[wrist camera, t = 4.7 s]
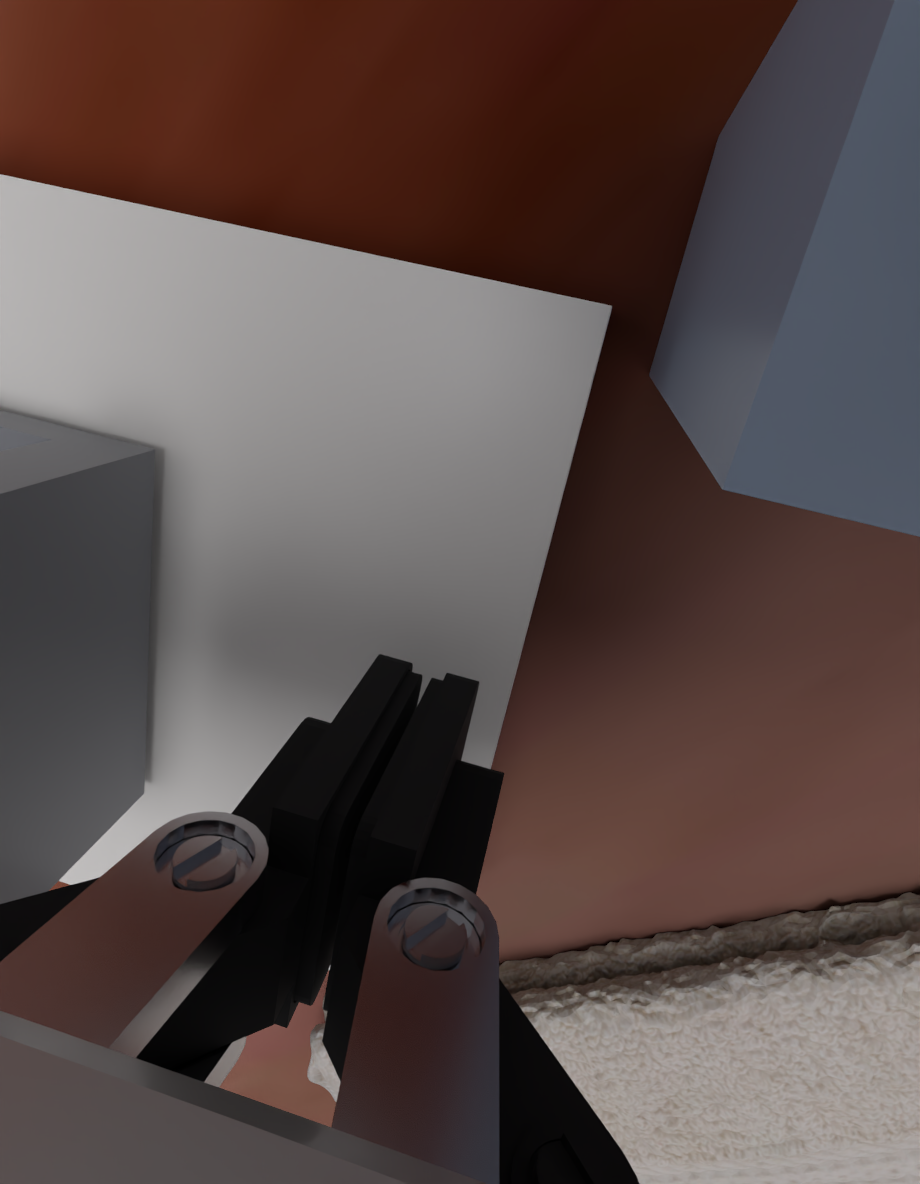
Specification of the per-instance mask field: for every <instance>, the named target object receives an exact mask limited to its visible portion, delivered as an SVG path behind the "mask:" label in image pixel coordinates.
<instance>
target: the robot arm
mask: <svg viewBox="0 0 920 1184" xmlns="http://www.w3.org/2000/svg"><path fill="white" fill-rule="evenodd" d="M412 669H413V664H412V663H411V662H407V661H404V660H400V659H396V658H393V657H389V656H386V655H382V654H379V655H378V656H377V658H376V659H375V660H374V662H373V663H372V665H371V666H370V668H369V669H368V671H367V672H366V673H365V675H364V676H363V678H362V679H361V681H360V682H359V683H358V685H357V686H356V688H355V689H354V691H353V692H352V694H351V695H350V696H349V698H348V699H347V701H346V702H345V704H344V705H343V707H342V708H341V709H340V711H339V712H338V714H337V715H336V717H335V718H334V719H333V721H332V722H331V723H329V722H326V721H322V720H319V719H315V718H312V717H307V718H305V719H304V720H303V721H302V722H301V723H300V725H299V726H298V727H297V729H296V730H295V731H294V733H293V734H292V735H291V737H290V738H289V739H288V740H287V742H286V743H285V744H284V746H283V747H282V748H281V750H280V751H279V752H278V753H277V755H276V756H275V757H274V759H273V760H272V761H271V763H270V764H269V765H268V766H267V768H266V769H265V770H264V772H263V773H262V774H261V776H260V777H259V778H258V779H257V781H256V782H255V783H254V785H253V786H252V787H251V789H250V790H249V791H248V792H247V794H246V795H245V796H244V798H243V799H242V800H241V802H240V803H239V804H238V805H237V807H236V808H235V809H234V811H233V812H232V813H231V814H230V813H226V812H212V811H206V812H199V813H191V814H187V815H184V816H181V817H179V818H176V819H173V820H171V821H169V822H167V823H166V824H164V825H163V826H161V827H160V828H158V829H157V830H155V831H154V832H153V833H152V834H150V835H149V836H148V837H147V838H146V839H145V840H143V841H142V842H141V843H140V844H139V845H137V846H136V847H135V848H134V849H133V850H132V851H130V852H129V853H128V854H127V855H126V856H124V857H123V858H122V859H121V860H120V861H119V862H117V863H116V864H115V865H114V866H113V867H112V868H110V869H109V870H108V871H107V872H106V873H104V874H103V875H102V876H101V877H99V878H95V879H92V880H88V881H84V882H81V883H77V884H73V885H69V886H66V887H62V888H58V889H55V890H51V891H47V892H43V893H40V894H36V895H32V896H28V897H25V898H21V899H17V900H14V901H10V902H6V903H2V904H0V1184H640V1183H639V1182H638V1178H637V1176H636V1174H635V1172H634V1171H633V1169H632V1167H631V1165H630V1163H629V1162H628V1160H627V1158H626V1156H625V1155H624V1153H623V1151H622V1150H621V1148H620V1147H619V1146H618V1144H617V1143H616V1141H615V1140H614V1139H613V1137H612V1136H611V1134H610V1133H609V1131H608V1130H607V1129H606V1127H605V1126H604V1124H603V1123H602V1122H601V1120H600V1119H599V1117H598V1116H597V1115H596V1113H595V1112H594V1110H593V1109H592V1108H591V1106H590V1105H589V1103H588V1102H587V1101H586V1099H585V1098H584V1096H583V1095H582V1094H581V1092H580V1091H579V1089H578V1088H577V1087H576V1085H575V1084H574V1082H573V1081H572V1080H571V1078H570V1077H569V1075H568V1074H567V1073H566V1071H565V1070H564V1068H563V1067H562V1066H561V1064H560V1063H559V1061H558V1060H557V1058H556V1057H555V1056H554V1054H553V1053H552V1051H551V1050H550V1049H549V1047H548V1046H547V1044H546V1043H545V1042H544V1040H543V1039H542V1037H541V1036H540V1035H539V1033H538V1032H537V1030H536V1029H535V1028H534V1026H533V1025H532V1023H531V1022H530V1021H529V1019H528V1018H527V1016H526V1015H525V1014H524V1012H523V1011H522V1009H521V1008H520V1007H519V1005H518V1004H517V1002H516V1001H515V1000H514V998H513V997H512V995H511V994H510V992H509V991H508V990H507V988H506V987H505V985H504V984H503V983H502V981H501V980H500V978H499V935H498V930H497V924H496V921H495V919H494V917H493V915H492V914H491V912H490V910H489V908H488V907H487V905H486V904H485V903H484V902H483V901H482V900H481V899H480V898H479V897H478V896H477V895H476V891H477V887H478V883H479V879H480V874H481V870H482V866H483V862H484V858H485V853H486V849H487V845H488V841H489V836H490V832H491V828H492V824H493V819H494V815H495V811H496V807H497V803H498V798H499V794H500V790H501V786H502V781H503V777H504V773H502V772H499V771H495V770H492V769H488V768H485V767H481V766H478V765H474V764H471V763H467V762H464V761H461V759H462V755H463V751H464V747H465V742H466V738H467V734H468V730H469V726H470V721H471V717H472V713H473V709H474V705H475V701H476V696H477V692H478V688H479V681H476V680H473V679H469V678H465V677H462V676H458V675H454V674H451V673H446V675H445V677H444V679H443V680H439V679H436V678H431V680H430V682H429V684H428V686H427V688H426V690H425V692H424V694H423V696H422V698H421V700H420V702H419V704H418V699H419V694H420V689H421V684H422V675H421V674H418V673H414V672H412ZM417 704H418V706H417ZM329 967H330V970H329V976H328V982H327V987H326V993H325V999H324V1004H323V1010H325V1011H327V1017H326V1022H325V1028H324V1033H323V1039H322V1042H323V1044H324V1047H325V1049H326V1051H327V1053H328V1055H329V1058H330V1060H331V1062H332V1064H333V1066H334V1068H335V1071H336V1073H337V1075H338V1077H339V1079H340V1087H339V1092H338V1097H337V1102H336V1107H335V1112H334V1117H333V1122H332V1127H328V1126H325V1125H323V1124H320V1123H317V1122H314V1121H311V1120H309V1119H306V1118H303V1117H300V1116H297V1115H295V1114H292V1113H289V1112H286V1111H283V1110H281V1109H278V1108H275V1107H272V1106H269V1105H266V1104H264V1103H261V1102H258V1101H255V1100H252V1099H250V1098H247V1097H244V1096H241V1095H238V1094H235V1093H233V1092H230V1091H227V1090H224V1089H221V1088H219V1086H220V1085H221V1084H222V1082H223V1081H224V1079H225V1078H226V1076H227V1075H228V1073H229V1072H230V1070H231V1069H232V1068H233V1066H234V1065H235V1063H236V1062H237V1060H238V1058H239V1056H240V1054H241V1052H242V1050H243V1048H244V1046H245V1042H246V1036H248V1035H250V1034H253V1033H255V1032H257V1031H260V1030H262V1029H264V1028H267V1027H269V1026H271V1025H273V1024H277V1025H280V1026H283V1027H286V1028H287V1027H288V1024H289V1022H290V1020H291V1018H292V1016H293V1014H294V1011H295V1009H296V1007H297V1005H298V1003H299V1002H301V1003H304V1004H307V1005H310V1006H311V1005H312V1004H313V1003H314V1001H315V999H316V997H317V994H318V992H319V990H320V988H321V985H322V983H323V981H324V978H325V976H326V974H327V972H328V969H329Z"/></svg>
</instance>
